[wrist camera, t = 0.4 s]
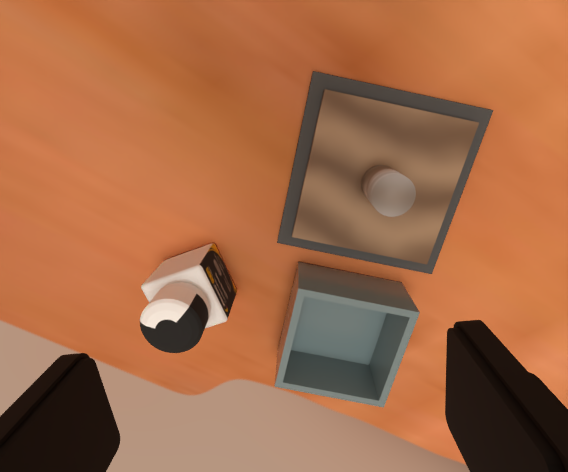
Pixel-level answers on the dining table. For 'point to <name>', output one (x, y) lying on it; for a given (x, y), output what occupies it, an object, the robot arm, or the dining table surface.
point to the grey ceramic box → (344, 334)
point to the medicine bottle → (186, 299)
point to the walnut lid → (380, 176)
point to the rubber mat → (389, 96)
